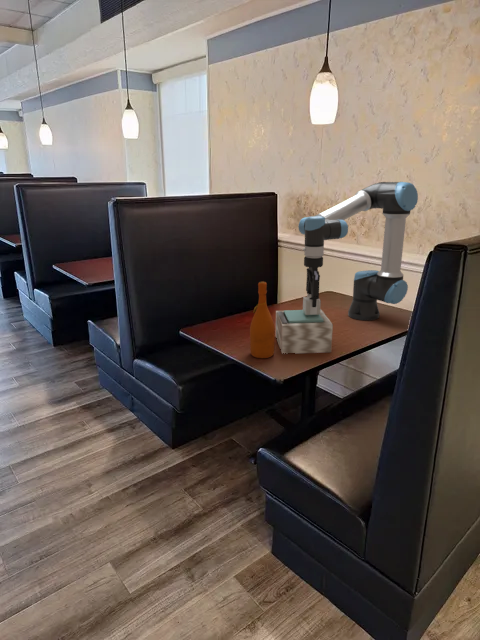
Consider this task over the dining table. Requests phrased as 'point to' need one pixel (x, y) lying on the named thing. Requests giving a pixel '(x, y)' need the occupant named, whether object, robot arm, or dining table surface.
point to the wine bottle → (262, 327)
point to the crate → (303, 335)
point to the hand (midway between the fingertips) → (311, 311)
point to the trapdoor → (301, 317)
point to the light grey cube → (307, 306)
